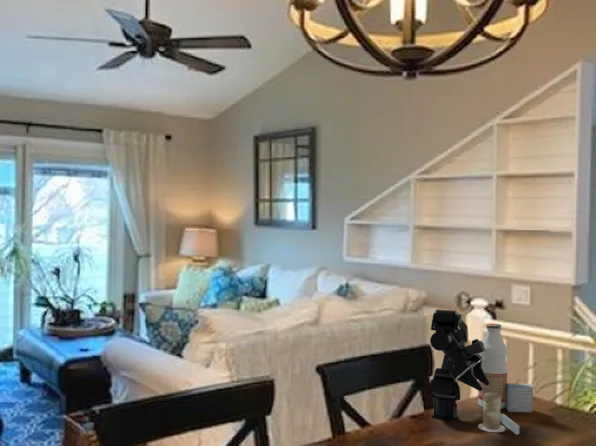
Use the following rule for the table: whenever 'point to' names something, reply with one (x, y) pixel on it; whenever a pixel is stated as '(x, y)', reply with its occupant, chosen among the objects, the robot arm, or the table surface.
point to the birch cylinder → (491, 411)
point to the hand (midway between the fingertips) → (485, 387)
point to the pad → (490, 429)
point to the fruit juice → (494, 364)
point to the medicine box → (519, 397)
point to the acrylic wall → (509, 424)
